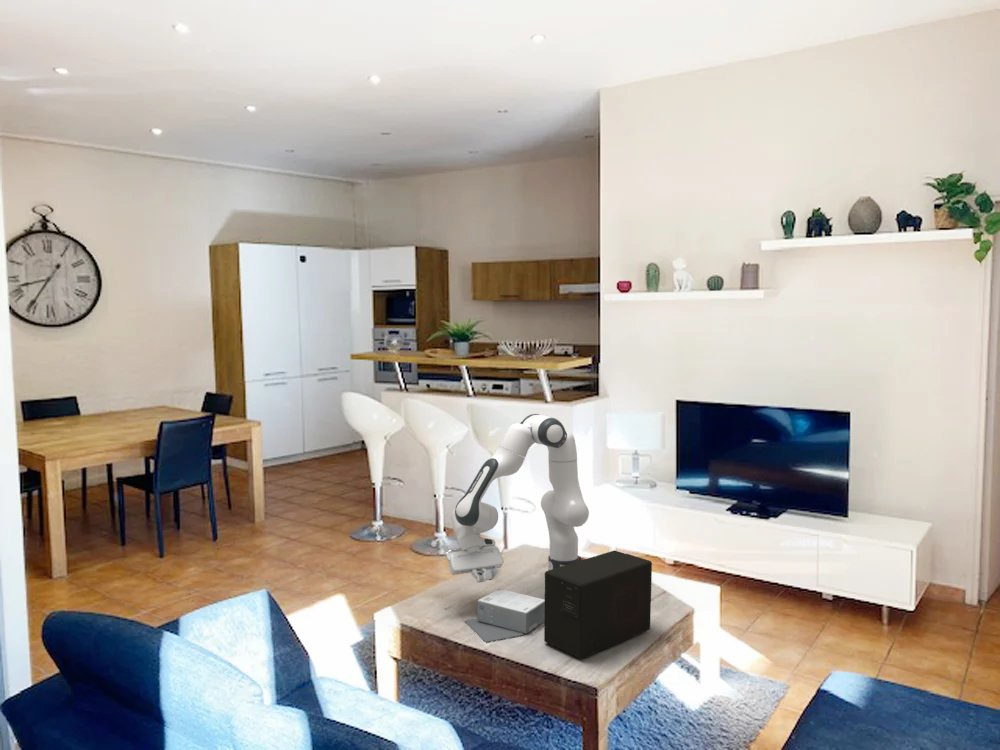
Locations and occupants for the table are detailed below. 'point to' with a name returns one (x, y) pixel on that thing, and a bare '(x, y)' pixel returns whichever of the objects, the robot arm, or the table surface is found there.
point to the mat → (491, 631)
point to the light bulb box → (487, 573)
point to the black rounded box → (597, 602)
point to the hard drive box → (511, 610)
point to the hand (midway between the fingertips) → (481, 581)
